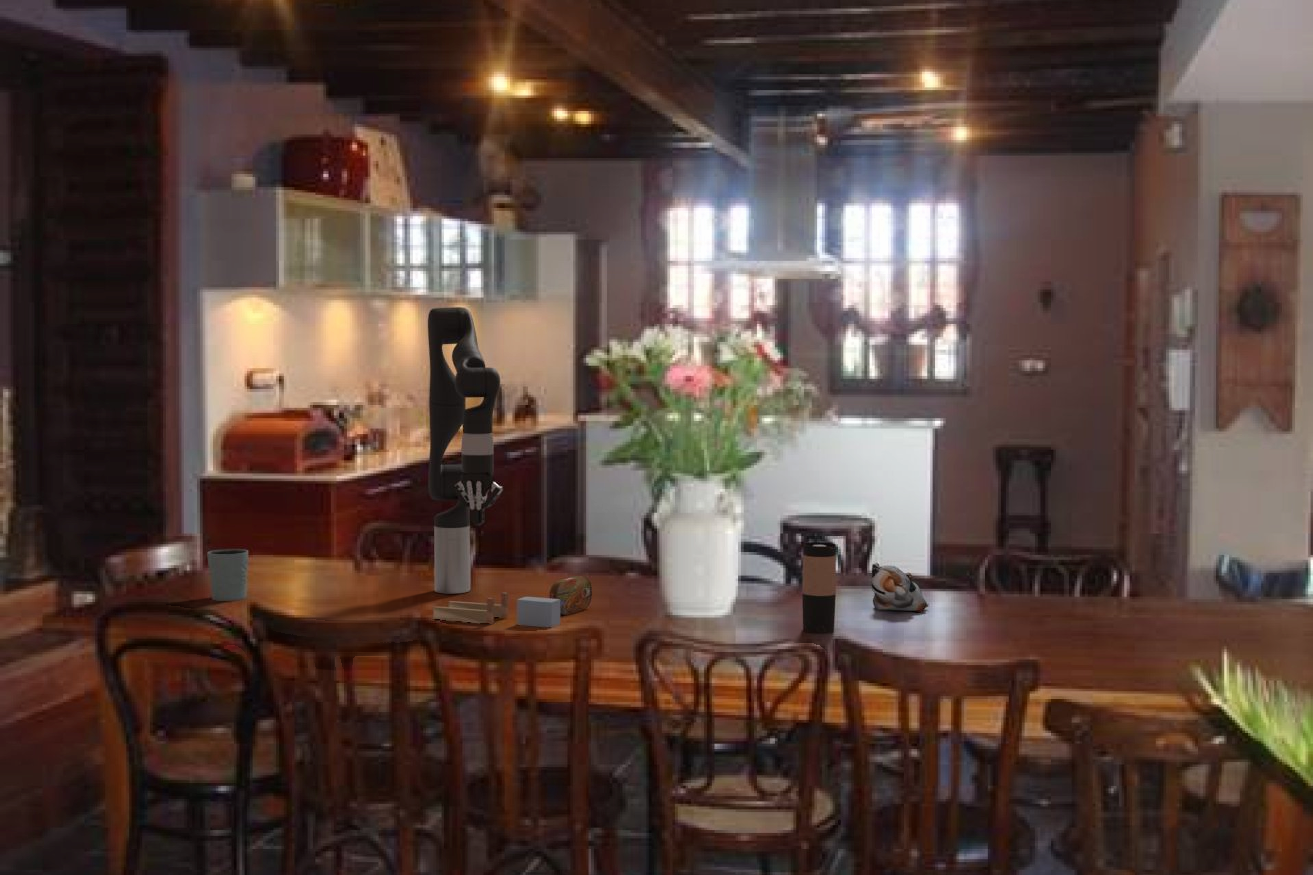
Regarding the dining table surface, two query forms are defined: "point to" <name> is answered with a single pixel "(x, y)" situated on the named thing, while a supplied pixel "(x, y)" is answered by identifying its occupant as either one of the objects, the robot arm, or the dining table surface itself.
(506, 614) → the chute
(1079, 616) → the dining table surface
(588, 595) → the tin
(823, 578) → the travel mug
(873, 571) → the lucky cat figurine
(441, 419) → the robot arm
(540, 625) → the block
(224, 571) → the grey tapered cup
